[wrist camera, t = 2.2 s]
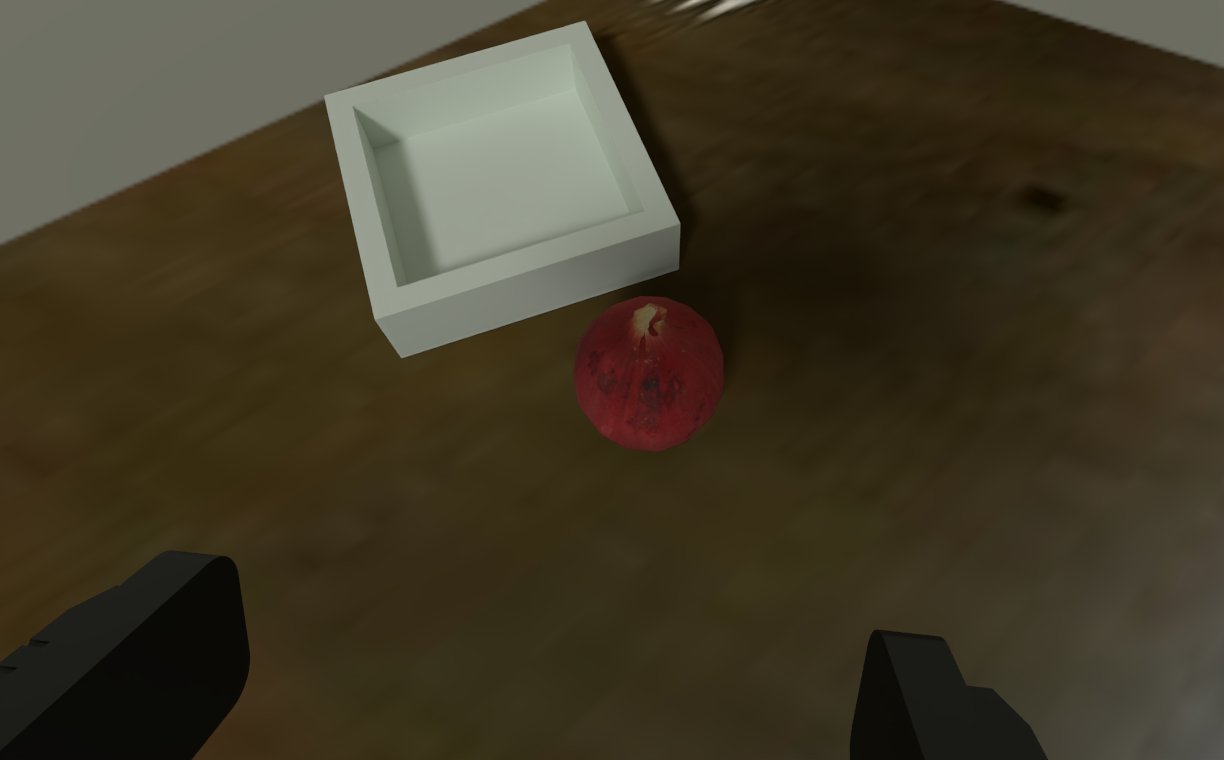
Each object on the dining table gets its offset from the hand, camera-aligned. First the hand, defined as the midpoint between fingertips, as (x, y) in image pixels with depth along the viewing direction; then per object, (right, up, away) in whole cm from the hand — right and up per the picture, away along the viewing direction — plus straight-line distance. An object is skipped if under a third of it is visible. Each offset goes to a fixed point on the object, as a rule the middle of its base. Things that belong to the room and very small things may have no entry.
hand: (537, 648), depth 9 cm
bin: (-4, +12, +28) cm, 31 cm away
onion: (+3, +2, +23) cm, 23 cm away
